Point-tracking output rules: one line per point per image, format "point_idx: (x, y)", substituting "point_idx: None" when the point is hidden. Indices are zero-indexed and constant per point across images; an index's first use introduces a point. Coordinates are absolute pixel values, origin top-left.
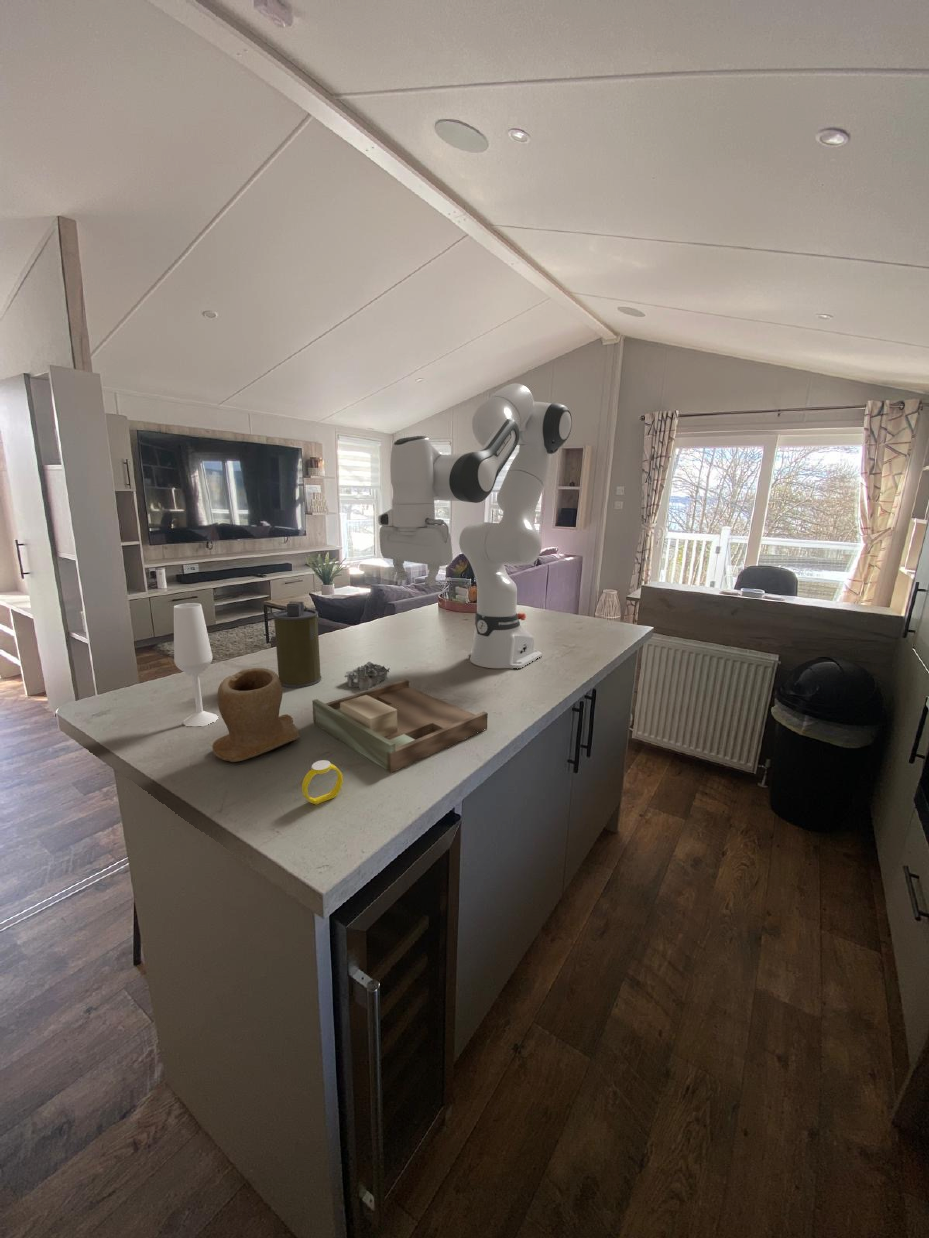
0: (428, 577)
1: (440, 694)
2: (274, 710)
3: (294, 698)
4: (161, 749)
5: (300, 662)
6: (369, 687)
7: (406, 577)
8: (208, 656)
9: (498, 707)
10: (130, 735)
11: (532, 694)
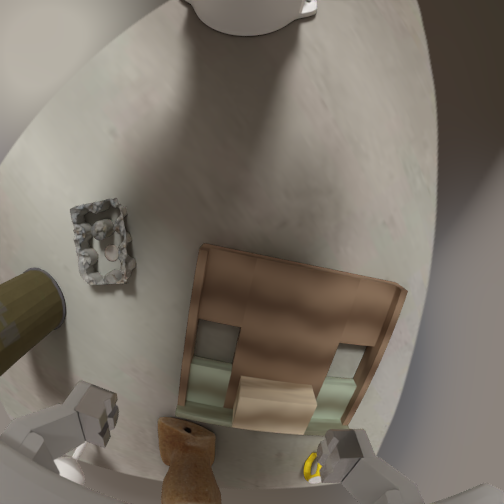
0: (350, 483)
1: (262, 208)
2: (216, 483)
3: (93, 353)
4: (133, 464)
5: (42, 335)
6: (135, 266)
7: (111, 401)
8: (76, 476)
9: (380, 201)
10: (92, 455)
11: (399, 116)
